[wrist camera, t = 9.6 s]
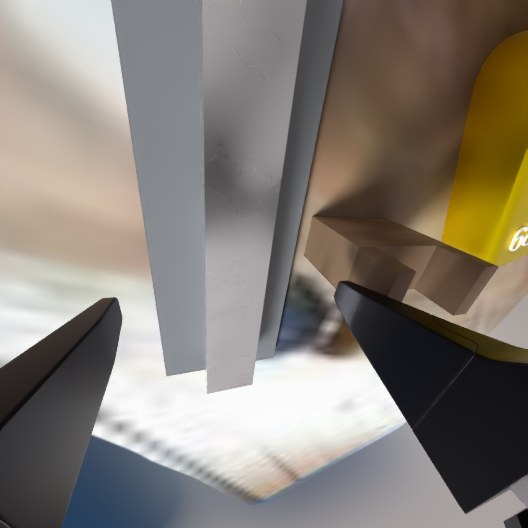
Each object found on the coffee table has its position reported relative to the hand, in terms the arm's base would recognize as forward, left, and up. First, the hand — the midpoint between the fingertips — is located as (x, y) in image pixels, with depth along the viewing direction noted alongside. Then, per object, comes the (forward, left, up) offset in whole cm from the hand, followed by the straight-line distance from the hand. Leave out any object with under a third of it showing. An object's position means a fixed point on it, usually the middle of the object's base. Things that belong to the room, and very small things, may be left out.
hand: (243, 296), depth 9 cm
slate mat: (0, 0, -6) cm, 6 cm away
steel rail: (0, 0, -5) cm, 5 cm away
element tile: (-24, -8, -7) cm, 27 cm away
